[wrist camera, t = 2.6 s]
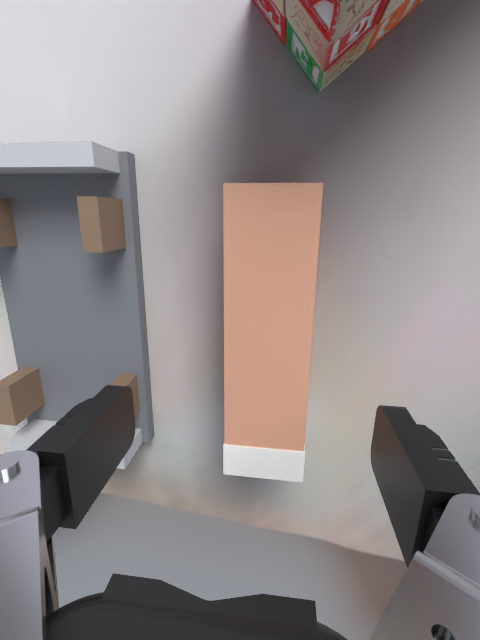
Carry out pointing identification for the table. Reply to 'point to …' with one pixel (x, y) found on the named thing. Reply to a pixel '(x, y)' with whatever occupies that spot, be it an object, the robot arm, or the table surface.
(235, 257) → the peach lotion tube
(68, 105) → the table surface
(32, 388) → the cradle jig
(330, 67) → the stack of blocks
